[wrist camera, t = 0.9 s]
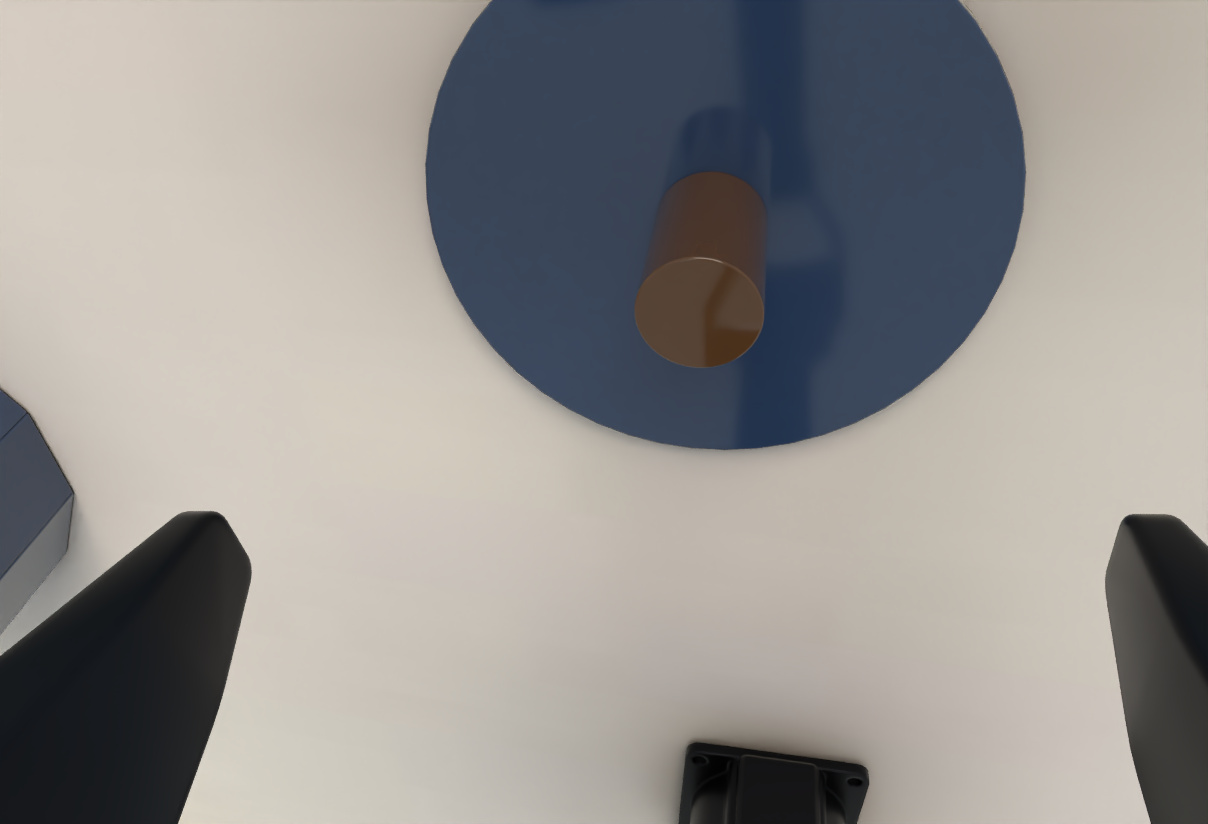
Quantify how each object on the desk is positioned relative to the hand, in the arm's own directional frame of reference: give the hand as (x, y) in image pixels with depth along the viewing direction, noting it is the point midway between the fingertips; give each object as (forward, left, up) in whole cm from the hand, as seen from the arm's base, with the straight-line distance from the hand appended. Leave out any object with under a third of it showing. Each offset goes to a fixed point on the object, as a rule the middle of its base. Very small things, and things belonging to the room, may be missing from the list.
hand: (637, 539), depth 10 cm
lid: (-4, 0, -15) cm, 15 cm away
